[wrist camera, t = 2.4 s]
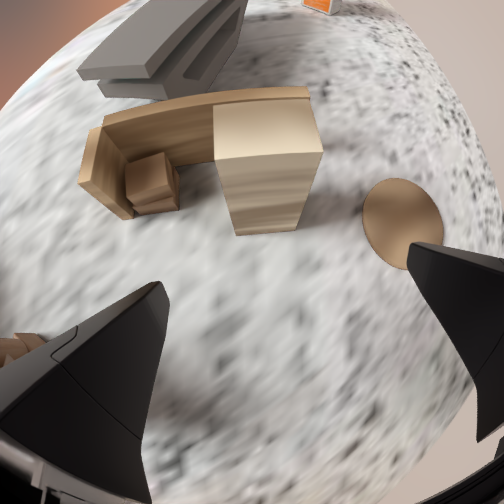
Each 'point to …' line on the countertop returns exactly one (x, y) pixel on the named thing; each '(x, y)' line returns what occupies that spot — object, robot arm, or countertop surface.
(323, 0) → the skincare box
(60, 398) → the robot arm
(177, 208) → the offcut lower
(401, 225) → the coaster
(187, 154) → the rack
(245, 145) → the pale wood block
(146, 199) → the offcut upper
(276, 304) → the countertop surface
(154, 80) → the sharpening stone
